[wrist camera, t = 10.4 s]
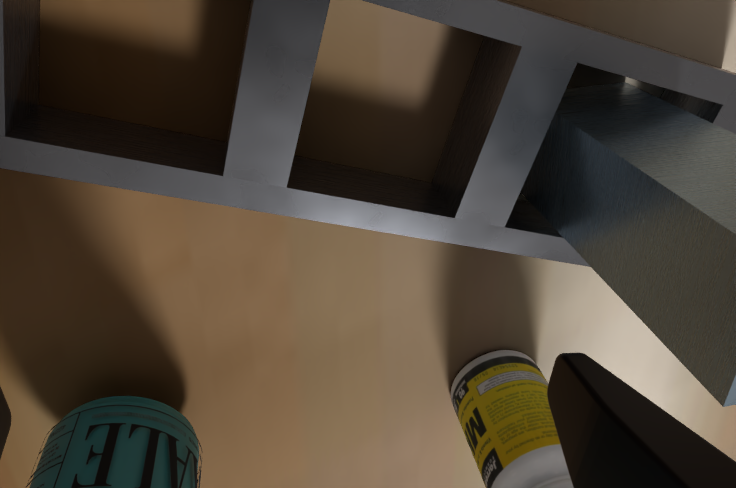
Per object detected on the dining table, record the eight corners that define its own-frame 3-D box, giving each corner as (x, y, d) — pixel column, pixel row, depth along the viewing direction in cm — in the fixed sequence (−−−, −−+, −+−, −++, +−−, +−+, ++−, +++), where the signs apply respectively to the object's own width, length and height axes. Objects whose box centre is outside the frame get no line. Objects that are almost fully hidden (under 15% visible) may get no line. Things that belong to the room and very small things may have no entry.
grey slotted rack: (-31, 120, 18) (-75, 155, 16) (-45, -172, 15) (-106, -188, 12) (624, 242, 26) (665, 279, 23) (722, 68, 22) (783, 90, 20)
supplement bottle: (440, 364, 28) (507, 522, 21) (532, 334, 28) (629, 482, 21) (456, 426, 30) (520, 586, 23) (540, 399, 30) (629, 550, 23)
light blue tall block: (517, 188, 23) (732, 416, 13) (526, 92, 21) (791, 272, 11) (607, 177, 24) (884, 387, 13) (625, 82, 22) (969, 244, 11)
